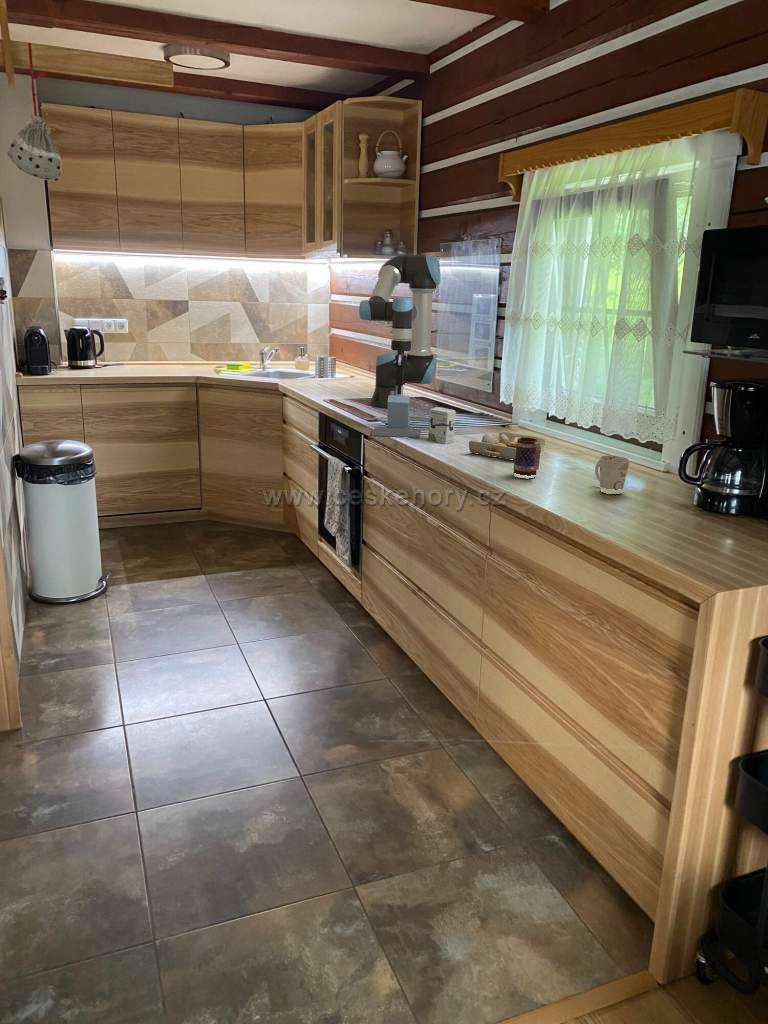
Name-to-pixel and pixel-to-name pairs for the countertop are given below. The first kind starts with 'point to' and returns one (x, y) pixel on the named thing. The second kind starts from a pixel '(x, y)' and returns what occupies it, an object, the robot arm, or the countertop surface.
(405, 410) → the block
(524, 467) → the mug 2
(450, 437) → the ink box
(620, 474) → the mug
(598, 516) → the countertop surface
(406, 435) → the mat
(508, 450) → the toy food set
